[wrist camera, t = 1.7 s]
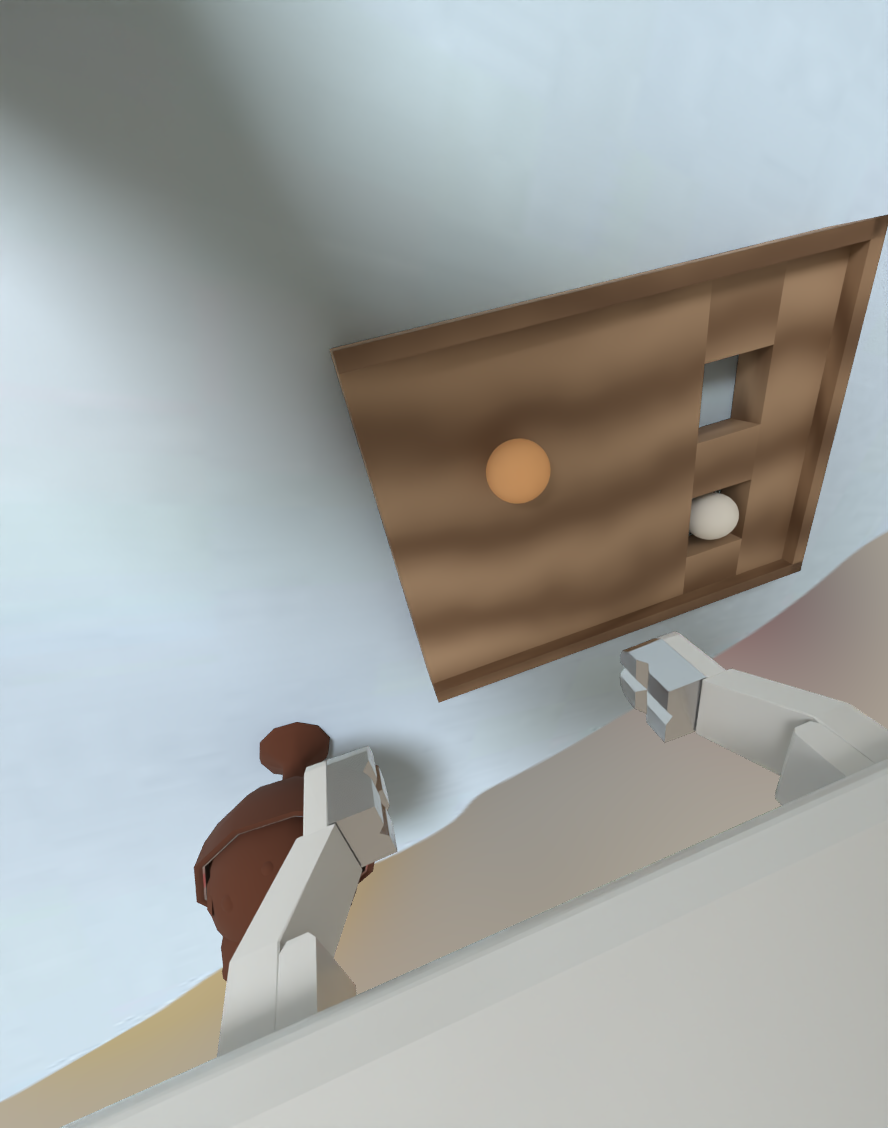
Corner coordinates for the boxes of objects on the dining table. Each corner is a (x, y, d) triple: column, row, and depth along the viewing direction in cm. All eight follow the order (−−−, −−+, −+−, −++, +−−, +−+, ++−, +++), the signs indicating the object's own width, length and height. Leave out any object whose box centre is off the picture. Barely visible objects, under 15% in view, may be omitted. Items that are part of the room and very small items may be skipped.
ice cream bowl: (375, 767, 39) (408, 980, 26) (245, 808, 37) (212, 1059, 24) (349, 680, 34) (373, 892, 21) (196, 722, 32) (120, 985, 19)
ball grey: (674, 493, 34) (711, 509, 31) (714, 480, 34) (754, 495, 31) (671, 534, 36) (706, 553, 33) (710, 521, 36) (747, 539, 33)
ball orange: (472, 442, 25) (495, 457, 22) (530, 425, 26) (560, 438, 23) (482, 499, 27) (504, 520, 24) (535, 483, 27) (564, 501, 24)
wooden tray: (329, 349, 23) (332, 351, 20) (827, 227, 28) (890, 214, 25) (427, 671, 35) (438, 702, 32) (763, 552, 40) (800, 570, 37)
